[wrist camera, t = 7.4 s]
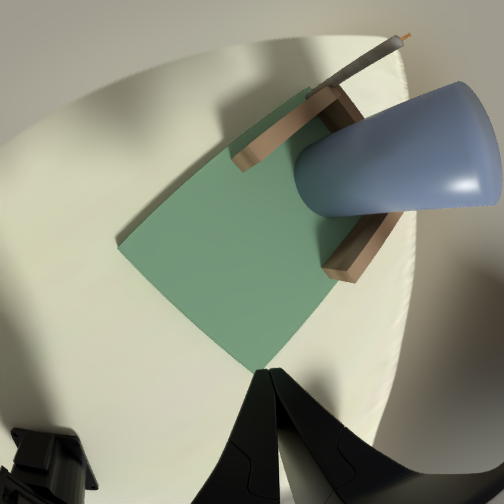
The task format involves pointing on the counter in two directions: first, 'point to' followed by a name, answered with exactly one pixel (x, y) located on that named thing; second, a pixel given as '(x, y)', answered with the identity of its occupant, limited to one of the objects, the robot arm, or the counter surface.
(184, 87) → the counter surface
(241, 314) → the felt mat
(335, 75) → the wooden rack
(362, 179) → the blue domed cylinder
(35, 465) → the robot arm
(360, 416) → the counter surface
